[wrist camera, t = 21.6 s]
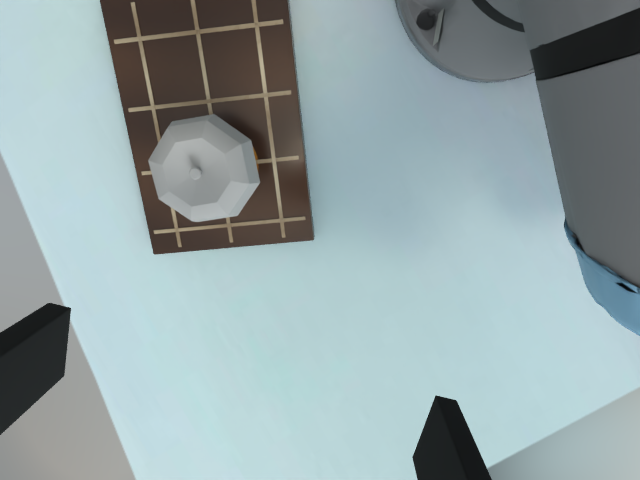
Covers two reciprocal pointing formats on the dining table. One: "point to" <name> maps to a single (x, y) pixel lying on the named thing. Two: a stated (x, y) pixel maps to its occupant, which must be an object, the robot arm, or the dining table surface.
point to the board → (215, 108)
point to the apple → (204, 168)
